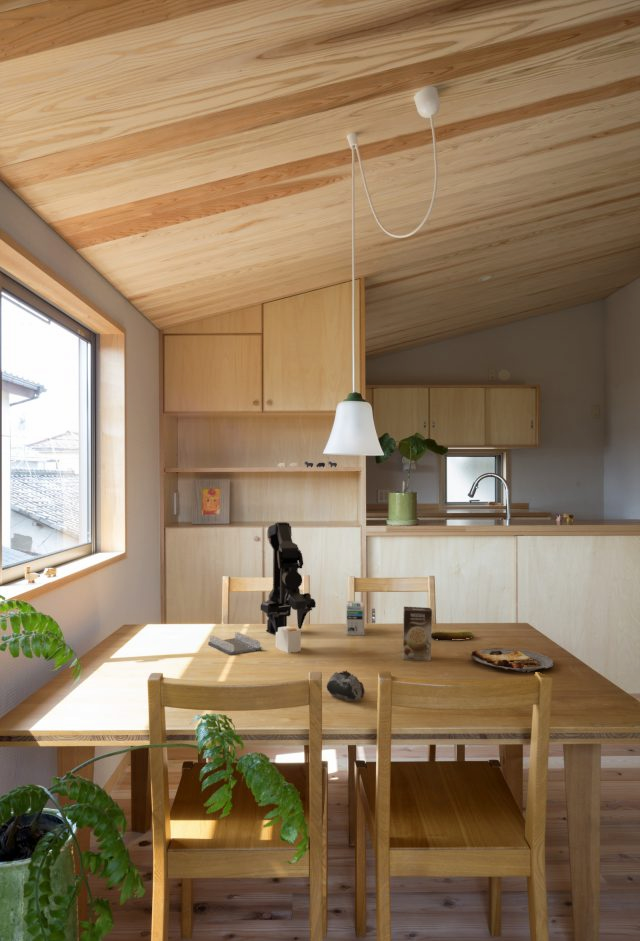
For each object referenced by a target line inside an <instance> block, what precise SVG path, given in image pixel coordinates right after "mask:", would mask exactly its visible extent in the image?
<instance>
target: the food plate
mask: <svg viewBox="0 0 640 941" xmlns="http://www.w3.org/2000/svg"><path fill="white" fill-rule="evenodd" d="M470 657H471V659H473V660H474V661H475V662H476V663H479V664H482V665H486V666H490V667H492V666H493V668H499V669H502V670H508V669H510V670H512V671H516V672H522V673H525V672H526V671H527V672H526V673H529V672H532V671H537V670H542V669H548V668H552V667H553V666H554V660H553V659H552V658H551V657H549V656H547V655H543V654H542V653H540V652H535V651H529V650H526V649H517V648H505V647H495V648H486V649H480V650H473V651H471V654H470ZM529 659H533V660H529ZM514 661H516V662H514ZM534 661H537V662H538V663H540V667H539V666H538V668H537V667H529V668H525V669H524V668H523V667H524V665H537V663H535V662H534ZM509 662H513V663H509Z"/></svg>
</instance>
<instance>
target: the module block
mask: <svg viewBox="0 0 640 941" xmlns="http://www.w3.org/2000/svg"><path fill="white" fill-rule="evenodd" d="M301 636H302V631H301V629H299V628H296V627H292V626H289V625H287V626H285V627H278V632H276V634H275V649H276V648H278V649H277V650H279V649H280V650H279V651H281V650H282V652H284V651H285V652H284V653H286V652H287V653H286V654H292V653H291V652H293V653H298V651H300V652H301V651H302V650H301V649H302V647H301V646H302V644H301V642H302V637H301Z"/></svg>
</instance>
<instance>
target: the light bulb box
mask: <svg viewBox="0 0 640 941" xmlns="http://www.w3.org/2000/svg"><path fill="white" fill-rule="evenodd" d="M345 607H346V608H345V612H346V614H345V618H346V619H345V620H346V622H345V623H346V625H345V627H346V628H345V629H346V636H365V605H364V601H350V600H349V601H348V600H346V605H345Z"/></svg>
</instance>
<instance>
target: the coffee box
mask: <svg viewBox="0 0 640 941" xmlns="http://www.w3.org/2000/svg"><path fill="white" fill-rule="evenodd" d="M432 613H433V612H432V608H431V607H422V606H421V607H418V606H403V618H402V619H403V622H402V651H401V652H402V653H401V656H402V660H406V661H424V662H426V661H427V662H428V661H429V662H431V660H432V659H431V658H432V638H431V633H432V627H433V626H432V620H433V618H432V617H433V614H432Z"/></svg>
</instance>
